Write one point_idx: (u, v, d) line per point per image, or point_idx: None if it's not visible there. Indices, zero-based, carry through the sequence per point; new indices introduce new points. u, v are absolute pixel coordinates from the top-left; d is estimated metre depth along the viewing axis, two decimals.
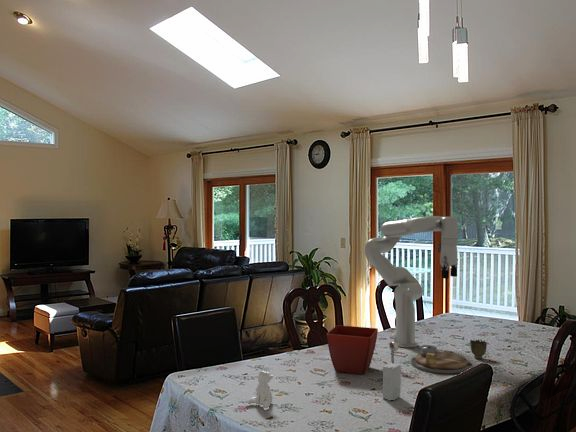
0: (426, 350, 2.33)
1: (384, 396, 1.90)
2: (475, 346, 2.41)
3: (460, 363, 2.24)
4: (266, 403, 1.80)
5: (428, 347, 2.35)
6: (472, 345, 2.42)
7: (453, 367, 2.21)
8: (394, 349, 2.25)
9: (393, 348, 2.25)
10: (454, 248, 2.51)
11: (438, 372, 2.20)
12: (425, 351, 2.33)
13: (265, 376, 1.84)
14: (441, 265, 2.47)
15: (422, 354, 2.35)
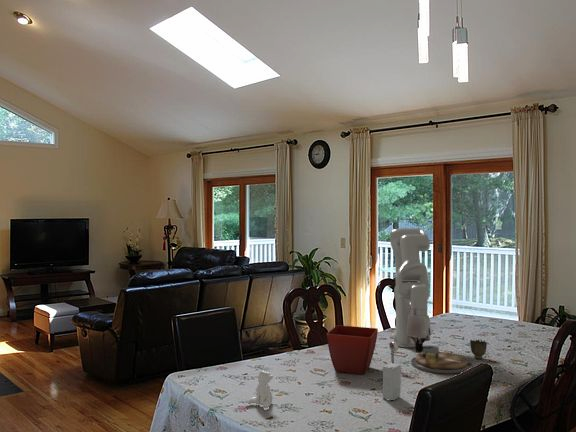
0: (428, 350, 2.33)
1: (384, 396, 1.90)
2: (475, 346, 2.41)
3: (460, 363, 2.24)
4: (266, 403, 1.80)
5: (430, 347, 2.34)
6: (472, 345, 2.42)
7: (453, 367, 2.21)
8: (394, 349, 2.25)
9: (393, 348, 2.25)
10: None
11: (438, 372, 2.20)
12: (427, 351, 2.33)
13: (265, 376, 1.84)
14: (424, 339, 2.37)
15: (424, 354, 2.34)
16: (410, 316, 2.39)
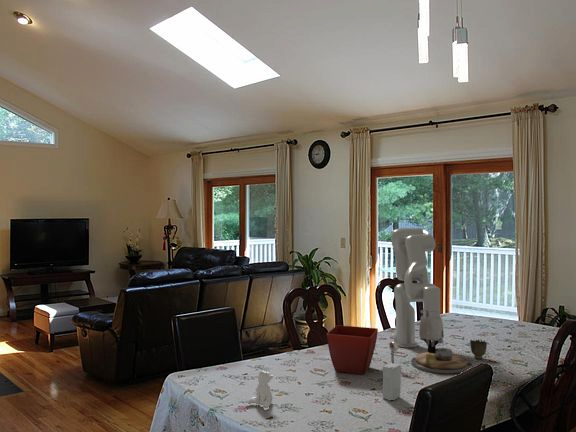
0: (440, 353, 2.28)
1: (384, 396, 1.90)
2: (475, 346, 2.41)
3: (460, 363, 2.24)
4: (266, 403, 1.80)
5: (443, 350, 2.30)
6: (472, 345, 2.42)
7: (453, 367, 2.21)
8: (394, 349, 2.25)
9: (393, 348, 2.25)
10: None
11: (438, 372, 2.20)
12: (439, 353, 2.29)
13: (265, 376, 1.84)
14: (437, 341, 2.33)
15: (437, 357, 2.30)
16: (423, 318, 2.35)
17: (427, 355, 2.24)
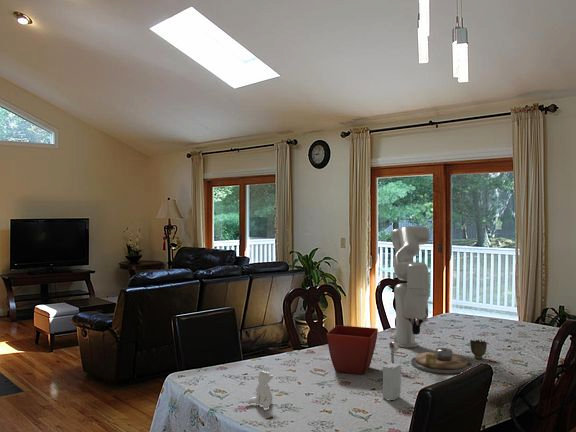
0: (441, 353, 2.28)
1: (384, 396, 1.90)
2: (475, 346, 2.41)
3: (460, 363, 2.24)
4: (266, 403, 1.80)
5: (443, 350, 2.30)
6: (472, 345, 2.42)
7: (453, 367, 2.21)
8: (394, 349, 2.25)
9: (393, 348, 2.25)
10: None
11: (438, 372, 2.20)
12: (439, 353, 2.29)
13: (265, 376, 1.84)
14: (422, 320, 2.26)
15: (437, 357, 2.30)
16: (407, 296, 2.29)
17: (427, 355, 2.24)
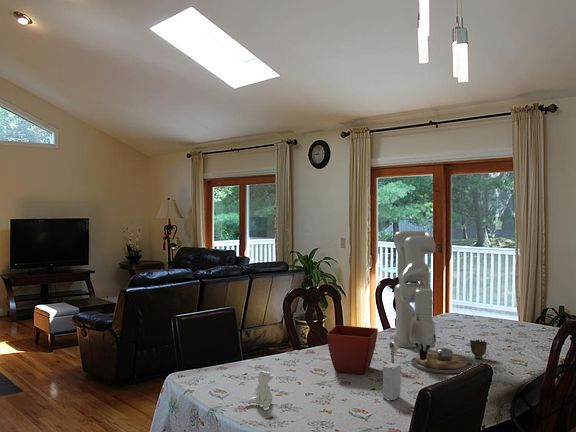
0: (441, 353, 2.28)
1: (384, 396, 1.90)
2: (475, 346, 2.41)
3: (460, 363, 2.24)
4: (266, 403, 1.80)
5: (443, 350, 2.30)
6: (472, 345, 2.42)
7: (454, 367, 2.21)
8: (394, 349, 2.25)
9: (393, 348, 2.25)
10: None
11: (438, 372, 2.20)
12: (440, 353, 2.29)
13: (265, 376, 1.84)
14: (429, 346, 2.24)
15: (437, 357, 2.30)
16: (414, 322, 2.27)
17: (428, 355, 2.24)
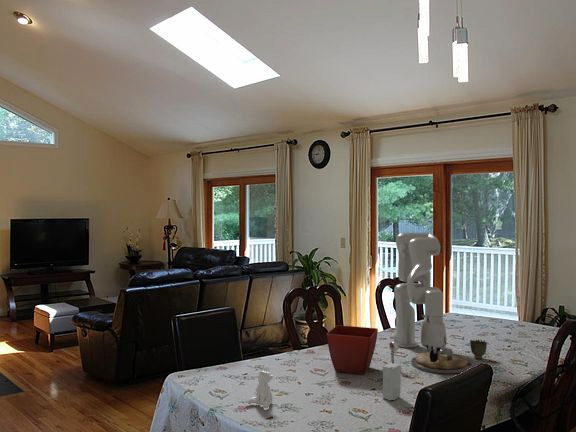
0: (445, 353, 2.28)
1: (384, 396, 1.90)
2: (475, 346, 2.41)
3: (464, 360, 2.28)
4: (266, 403, 1.80)
5: (445, 350, 2.31)
6: (472, 345, 2.42)
7: (463, 365, 2.24)
8: (394, 349, 2.25)
9: (393, 348, 2.25)
10: None
11: (438, 372, 2.20)
12: (444, 354, 2.28)
13: (265, 376, 1.84)
14: (440, 348, 2.21)
15: None
16: (424, 323, 2.24)
17: (441, 357, 2.21)
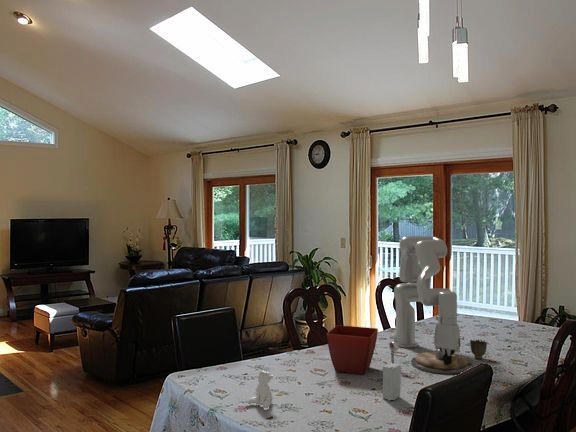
0: None
1: (384, 396, 1.90)
2: (475, 346, 2.41)
3: (463, 358, 2.32)
4: (266, 403, 1.80)
5: None
6: (472, 345, 2.42)
7: (466, 363, 2.27)
8: (394, 349, 2.25)
9: (393, 348, 2.25)
10: None
11: (438, 372, 2.20)
12: None
13: (265, 376, 1.84)
14: (454, 351, 2.17)
15: None
16: (438, 325, 2.20)
17: None
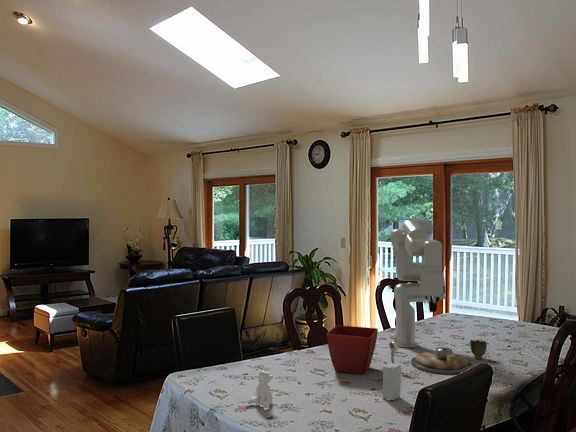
0: (448, 353, 2.29)
1: (384, 396, 1.90)
2: (475, 346, 2.41)
3: (463, 358, 2.32)
4: (266, 403, 1.80)
5: (445, 349, 2.31)
6: (472, 345, 2.42)
7: (466, 363, 2.27)
8: (394, 349, 2.25)
9: (393, 348, 2.25)
10: None
11: (438, 372, 2.20)
12: (447, 353, 2.29)
13: (265, 376, 1.84)
14: (439, 298, 2.23)
15: (443, 358, 2.29)
16: (423, 274, 2.26)
17: (451, 357, 2.21)
